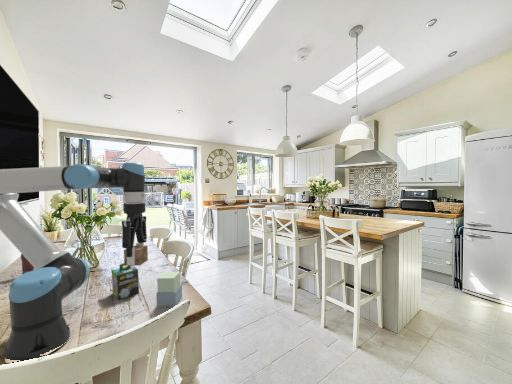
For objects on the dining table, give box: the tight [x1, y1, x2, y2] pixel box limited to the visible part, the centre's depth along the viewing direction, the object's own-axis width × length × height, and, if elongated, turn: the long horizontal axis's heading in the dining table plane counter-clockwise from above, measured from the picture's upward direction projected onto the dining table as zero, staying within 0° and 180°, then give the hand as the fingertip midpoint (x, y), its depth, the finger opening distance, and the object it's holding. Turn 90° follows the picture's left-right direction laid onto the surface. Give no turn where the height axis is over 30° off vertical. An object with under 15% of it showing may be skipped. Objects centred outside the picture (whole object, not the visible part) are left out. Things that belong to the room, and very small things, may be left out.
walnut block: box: [123, 244, 149, 267], centre depth 89 cm, size 6×6×6 cm
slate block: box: [155, 283, 183, 308], centre depth 98 cm, size 8×8×6 cm
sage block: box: [156, 271, 181, 293], centre depth 98 cm, size 7×7×6 cm
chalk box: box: [111, 262, 140, 301], centre depth 107 cm, size 9×9×15 cm
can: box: [20, 253, 34, 275], centre depth 128 cm, size 6×6×14 cm
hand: (135, 261), depth 89 cm, fingers closed on walnut block, 6 cm apart
